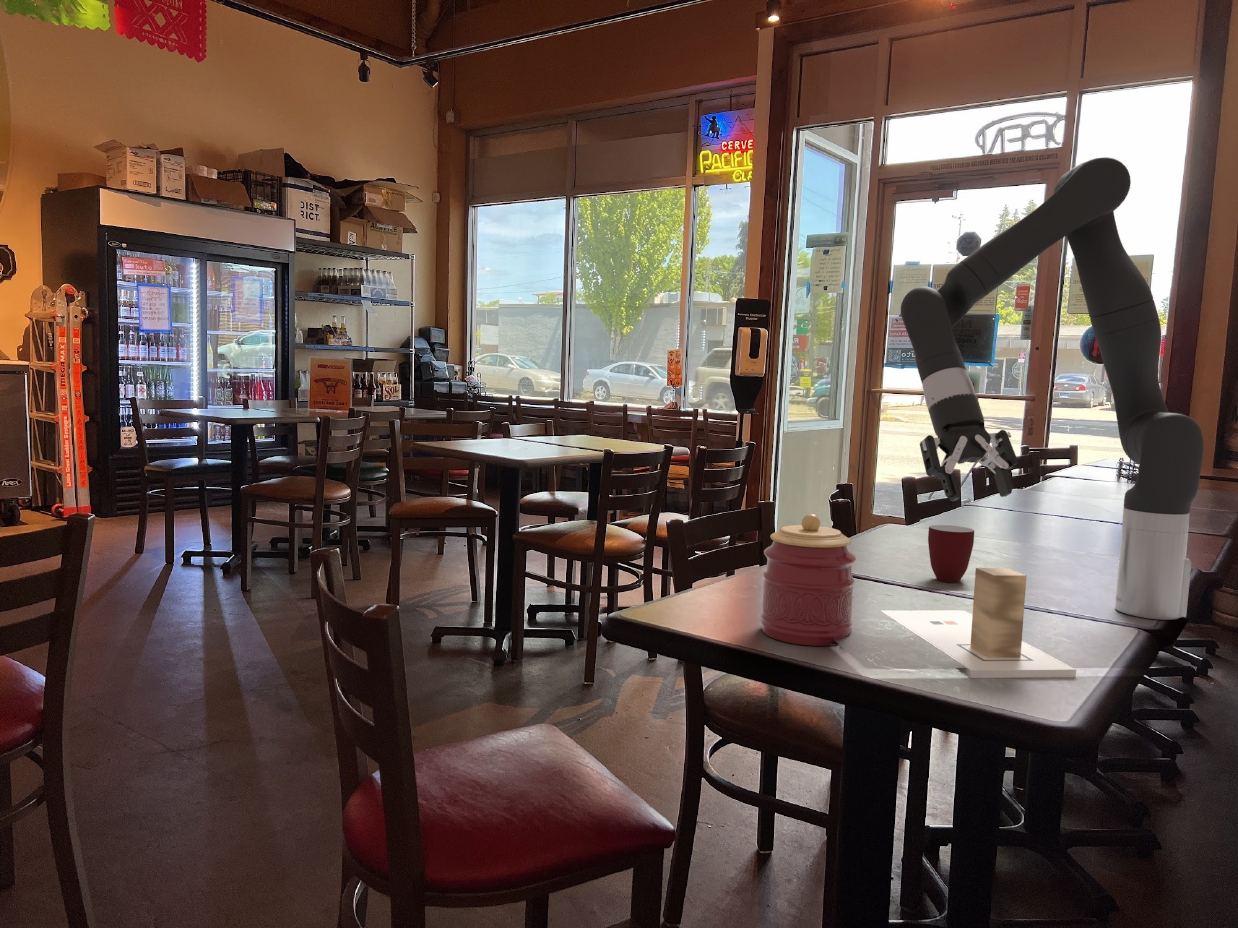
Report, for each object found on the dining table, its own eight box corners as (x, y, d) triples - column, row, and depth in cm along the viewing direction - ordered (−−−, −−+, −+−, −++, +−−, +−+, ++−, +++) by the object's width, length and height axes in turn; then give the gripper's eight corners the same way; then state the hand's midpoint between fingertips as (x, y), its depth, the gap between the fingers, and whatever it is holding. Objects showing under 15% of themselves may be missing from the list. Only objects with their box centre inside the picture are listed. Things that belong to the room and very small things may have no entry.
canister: (775, 616, 132) (780, 504, 130) (860, 630, 126) (866, 512, 124) (748, 637, 120) (753, 515, 118) (839, 653, 114) (846, 524, 113)
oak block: (1001, 646, 116) (1007, 567, 115) (1020, 657, 111) (1026, 575, 110) (970, 647, 115) (975, 567, 114) (988, 657, 111) (994, 575, 110)
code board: (963, 616, 135) (964, 610, 135) (1075, 677, 107) (1076, 669, 107) (879, 616, 133) (879, 610, 133) (970, 678, 106) (971, 670, 106)
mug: (936, 571, 168) (939, 522, 167) (979, 578, 164) (982, 527, 163) (919, 580, 160) (923, 528, 159) (964, 587, 155) (967, 533, 154)
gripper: (921, 394, 131) (950, 492, 125) (1005, 389, 133) (1037, 484, 127) (900, 415, 138) (927, 509, 132) (980, 410, 140) (1010, 501, 134)
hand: (981, 497), depth 129 cm, fingers open, 8 cm apart
